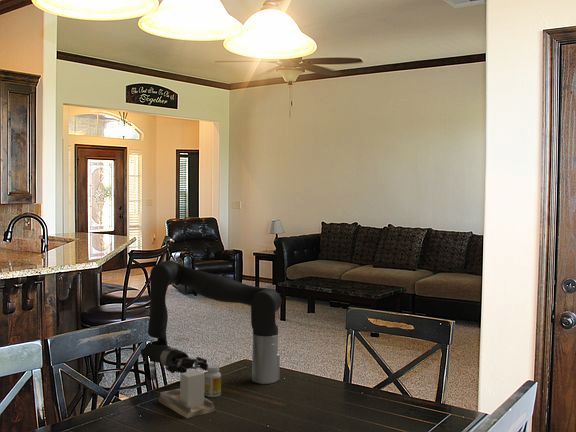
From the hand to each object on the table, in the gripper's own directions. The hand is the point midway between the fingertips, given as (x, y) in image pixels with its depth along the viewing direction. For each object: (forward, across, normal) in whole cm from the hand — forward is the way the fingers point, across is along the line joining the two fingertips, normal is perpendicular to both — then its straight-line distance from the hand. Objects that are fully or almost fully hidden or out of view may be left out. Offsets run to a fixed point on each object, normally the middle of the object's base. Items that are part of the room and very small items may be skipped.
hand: (196, 369), depth 217 cm
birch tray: (+16, -13, +6) cm, 21 cm away
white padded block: (+19, -13, +4) cm, 24 cm away
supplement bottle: (+11, 0, +6) cm, 13 cm away
